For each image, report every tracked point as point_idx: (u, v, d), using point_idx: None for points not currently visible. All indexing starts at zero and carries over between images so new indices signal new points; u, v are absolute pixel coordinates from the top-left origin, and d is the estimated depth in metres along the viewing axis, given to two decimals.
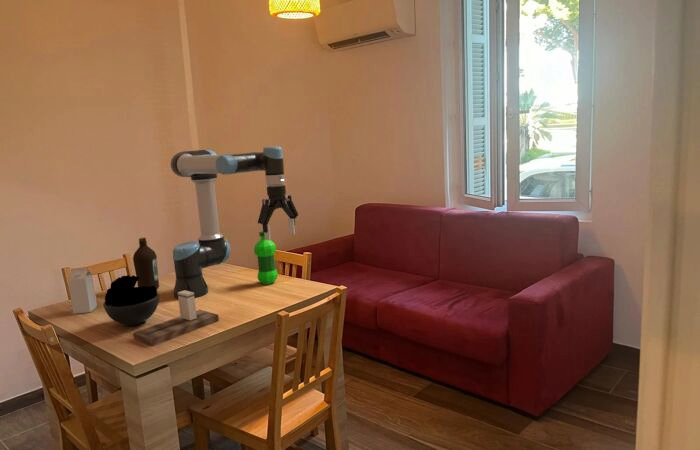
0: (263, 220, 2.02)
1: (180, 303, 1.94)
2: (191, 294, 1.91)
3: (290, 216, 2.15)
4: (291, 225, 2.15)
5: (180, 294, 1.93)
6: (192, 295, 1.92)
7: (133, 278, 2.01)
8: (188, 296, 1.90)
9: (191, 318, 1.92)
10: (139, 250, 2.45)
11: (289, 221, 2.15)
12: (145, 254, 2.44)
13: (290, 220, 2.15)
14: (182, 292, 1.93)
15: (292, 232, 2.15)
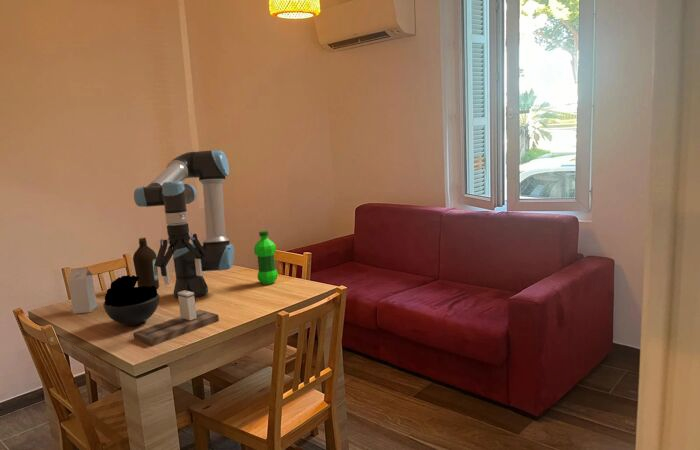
0: (160, 263, 1.83)
1: (180, 303, 1.94)
2: (191, 294, 1.91)
3: (197, 256, 1.96)
4: (198, 266, 1.96)
5: (180, 294, 1.93)
6: (192, 295, 1.92)
7: (133, 278, 2.01)
8: (188, 296, 1.90)
9: (191, 318, 1.92)
10: (139, 250, 2.45)
11: (196, 261, 1.96)
12: (145, 254, 2.44)
13: (197, 260, 1.96)
14: (182, 292, 1.93)
15: (199, 274, 1.96)
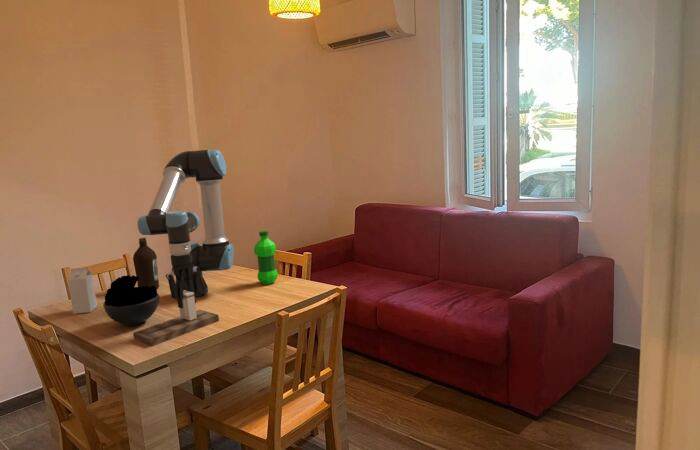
0: (176, 296, 1.89)
1: None
2: (191, 294, 1.91)
3: None
4: None
5: None
6: (192, 295, 1.92)
7: (133, 278, 2.01)
8: (188, 296, 1.90)
9: (191, 318, 1.92)
10: (139, 250, 2.45)
11: None
12: (145, 254, 2.44)
13: None
14: None
15: None
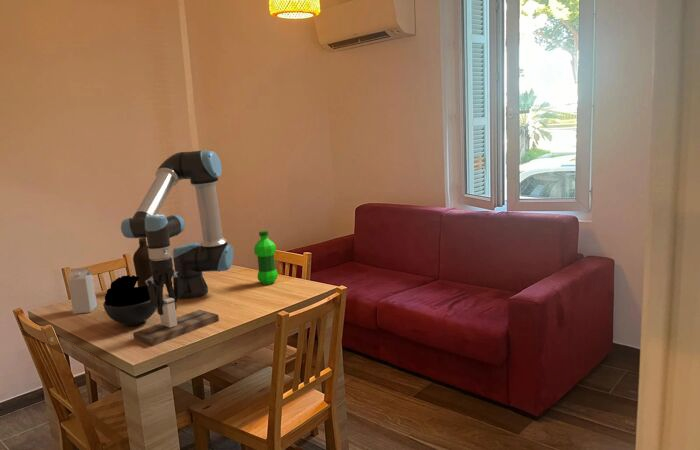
0: (155, 302, 1.82)
1: None
2: (171, 300, 1.85)
3: None
4: None
5: None
6: (172, 301, 1.86)
7: (133, 278, 2.01)
8: (168, 302, 1.84)
9: (171, 325, 1.86)
10: (139, 250, 2.45)
11: None
12: (145, 254, 2.44)
13: None
14: None
15: None
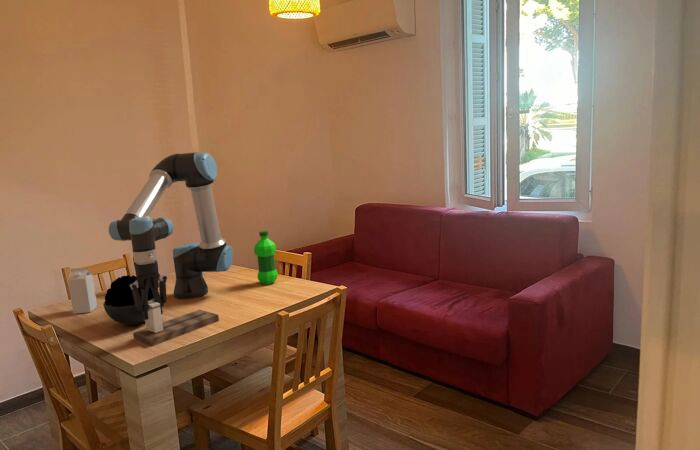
0: (140, 307, 1.78)
1: None
2: (157, 305, 1.81)
3: None
4: None
5: None
6: (158, 305, 1.81)
7: (133, 278, 2.01)
8: (153, 307, 1.80)
9: (157, 330, 1.81)
10: None
11: None
12: None
13: None
14: (148, 303, 1.83)
15: None
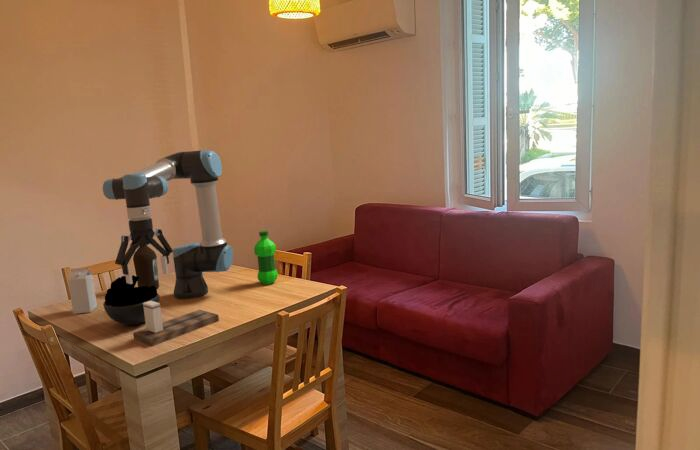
0: (121, 261, 1.72)
1: (145, 314, 1.83)
2: (157, 305, 1.81)
3: (163, 253, 1.85)
4: (163, 263, 1.85)
5: (145, 305, 1.82)
6: (158, 306, 1.81)
7: (133, 278, 2.01)
8: (153, 307, 1.80)
9: (157, 330, 1.81)
10: (139, 250, 2.45)
11: (161, 259, 1.85)
12: (145, 254, 2.44)
13: (162, 258, 1.85)
14: (147, 303, 1.82)
15: (165, 271, 1.85)
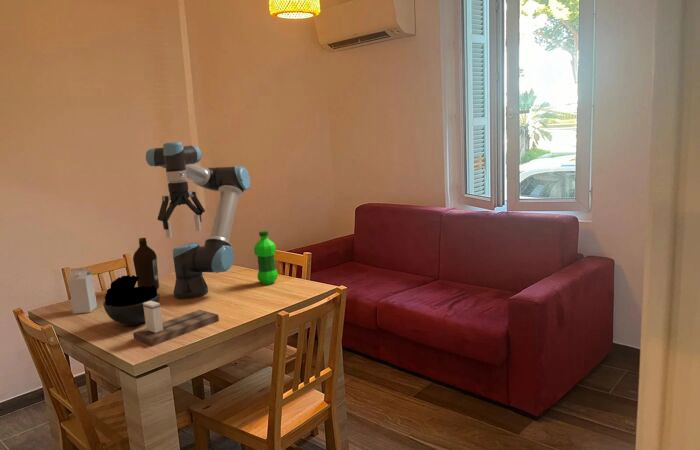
0: (162, 217, 1.99)
1: (145, 314, 1.83)
2: (157, 305, 1.81)
3: (196, 212, 2.13)
4: (197, 221, 2.12)
5: (145, 305, 1.82)
6: (158, 306, 1.81)
7: (133, 278, 2.01)
8: (153, 307, 1.80)
9: (157, 330, 1.81)
10: (139, 250, 2.45)
11: (195, 217, 2.13)
12: (145, 254, 2.44)
13: (196, 216, 2.12)
14: (147, 303, 1.82)
15: (198, 229, 2.13)
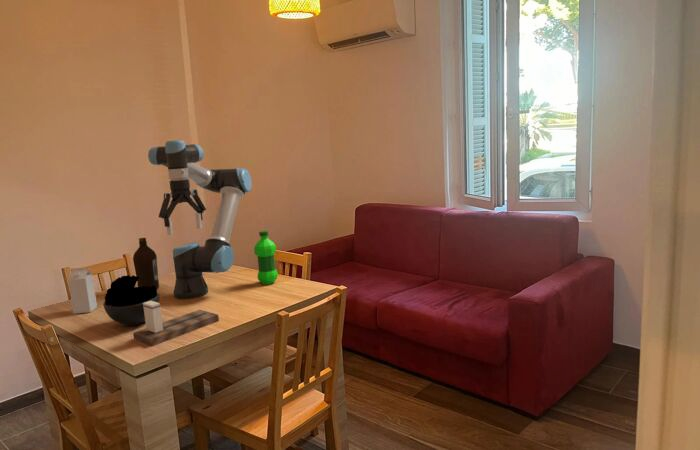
0: (163, 214, 2.00)
1: (145, 314, 1.83)
2: (157, 305, 1.81)
3: (197, 211, 2.14)
4: (198, 220, 2.13)
5: (145, 305, 1.82)
6: (158, 306, 1.81)
7: (133, 278, 2.01)
8: (153, 307, 1.80)
9: (157, 330, 1.81)
10: (139, 250, 2.45)
11: (196, 215, 2.14)
12: (145, 254, 2.44)
13: (197, 215, 2.13)
14: (147, 303, 1.82)
15: (199, 227, 2.14)
